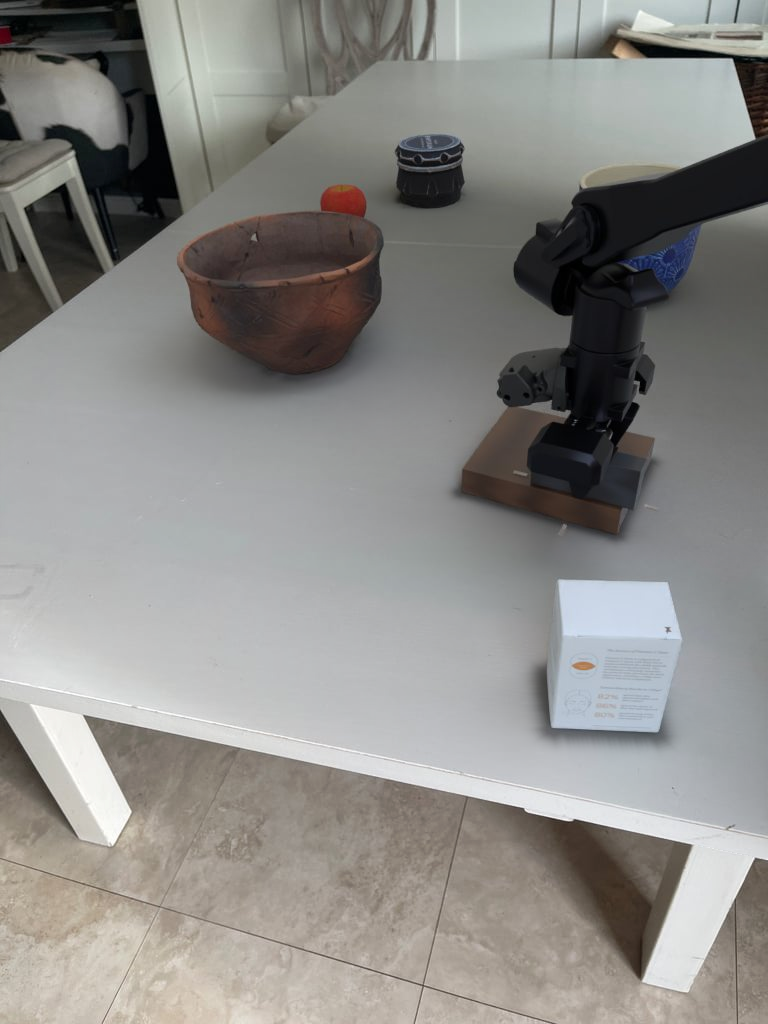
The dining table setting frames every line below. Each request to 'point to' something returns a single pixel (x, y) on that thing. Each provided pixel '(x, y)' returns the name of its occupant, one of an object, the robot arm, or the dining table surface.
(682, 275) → the planter
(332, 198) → the apple
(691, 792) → the dining table surface
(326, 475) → the dining table surface
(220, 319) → the bowl
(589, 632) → the small box
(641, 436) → the base
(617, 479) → the grey block with red
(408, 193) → the container
